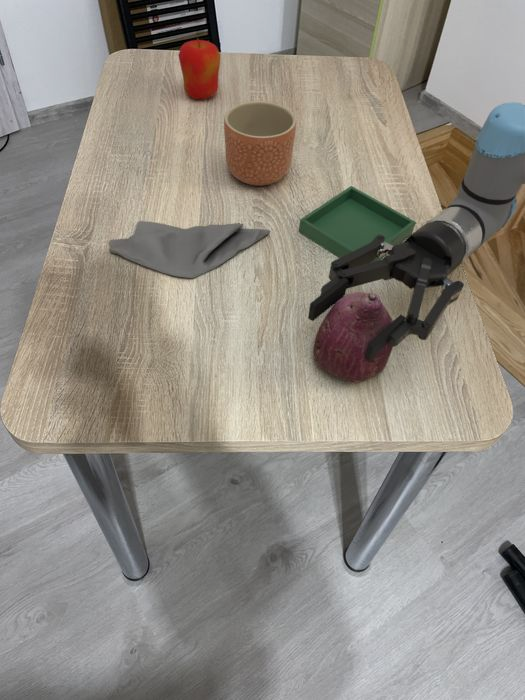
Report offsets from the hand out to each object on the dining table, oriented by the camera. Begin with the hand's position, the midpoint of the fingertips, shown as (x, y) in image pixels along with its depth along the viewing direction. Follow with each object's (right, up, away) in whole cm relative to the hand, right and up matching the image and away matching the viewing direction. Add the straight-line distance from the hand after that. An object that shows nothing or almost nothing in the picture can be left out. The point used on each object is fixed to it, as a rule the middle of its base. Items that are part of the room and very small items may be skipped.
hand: (339, 331), depth 64 cm
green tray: (+7, +18, +27) cm, 33 cm away
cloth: (-21, +14, +23) cm, 34 cm away
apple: (-23, +53, +54) cm, 79 cm away
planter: (-10, +30, +36) cm, 48 cm away
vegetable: (+3, -2, +9) cm, 9 cm away
